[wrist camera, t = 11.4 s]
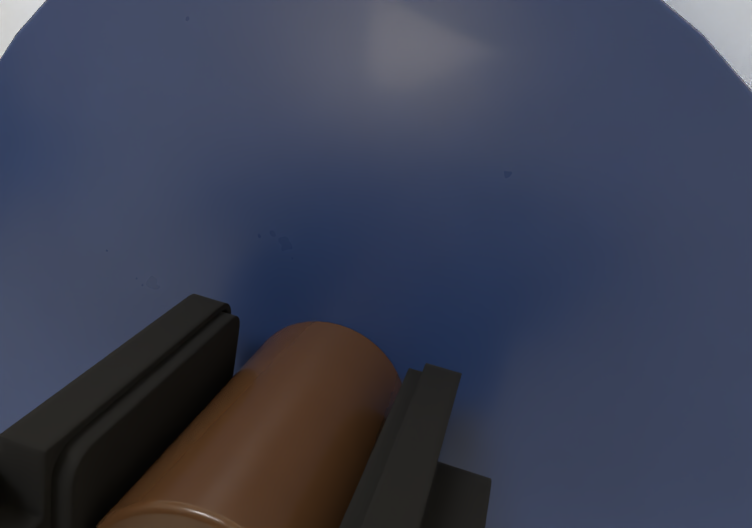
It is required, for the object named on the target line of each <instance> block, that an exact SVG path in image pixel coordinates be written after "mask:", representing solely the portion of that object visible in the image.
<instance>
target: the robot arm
mask: <svg viewBox="0 0 752 528" xmlns="http://www.w3.org/2000/svg"><path fill="white" fill-rule="evenodd" d="M239 329H240V320H239V317H238V316H235V315H232V314H231V307H230V305H229V304H228V303H224V302H221V301H217V300H214V299H211V298H207V297H204V296H201V295H197V294H191V295H189V296H188V297H186V298H185V299H184V300H182V301H181V302H180V303H178V304H177V305H176V306H174V307H173V308H171V309H170V310H169V311H167V312H166V313H165V314H163V315H162V316H161V317H159V318H158V319H156V320H155V321H154V322H152V323H151V324H150V325H148V326H147V327H146V328H144V329H143V330H141V331H140V332H139V333H137V334H136V335H135V336H133V337H132V338H131V339H129V340H128V341H126V342H125V343H124V344H122V345H121V346H120V347H118V348H117V349H115V350H114V351H113V352H111V353H110V354H109V355H107V356H106V357H105V358H103V359H102V360H100V361H99V362H98V363H96V364H95V365H94V366H92V367H91V368H90V369H88V370H87V371H85V372H84V373H83V374H81V375H80V376H79V377H77V378H76V379H75V380H73V381H72V382H70V383H69V384H68V385H66V386H65V387H64V388H62V389H61V390H60V391H58V392H57V393H55V394H54V395H53V396H51V397H50V398H49V399H47V400H46V401H44V402H43V403H42V404H40V405H39V406H38V407H36V408H35V409H34V410H32V411H31V412H29V413H28V414H27V415H25V416H24V417H23V418H21V419H20V420H19V421H17V422H16V423H14V424H13V425H12V426H10V427H9V428H8V429H6V430H5V431H4V432H2V433H1V434H0V528H95V527H96V525H97V524H98V523H99V522H100V521H101V519H102V518H103V517H104V516H105V515H106V514H107V513H108V512H109V511H110V510H111V509H112V508H113V506H114V505H115V504H116V503H117V502H118V501H119V500H120V499H121V498H122V497H123V496H124V494H125V493H126V492H127V491H128V490H129V489H130V488H131V487H132V486H133V485H134V484H135V483H136V481H137V480H138V479H139V478H140V477H141V476H142V475H143V474H144V473H145V472H146V471H147V470H148V468H149V467H150V466H151V465H152V464H153V463H154V462H155V461H156V460H157V459H158V458H159V456H160V455H161V454H162V453H163V452H164V451H165V450H166V449H167V448H168V447H169V446H170V445H171V443H172V442H173V441H174V440H175V439H176V438H177V437H178V436H179V435H180V434H181V433H182V432H183V430H184V429H185V428H186V427H187V426H188V425H189V424H190V423H191V422H192V421H193V420H194V418H195V417H196V416H197V415H198V414H199V413H200V412H201V411H202V410H203V409H204V408H205V407H206V405H207V404H208V403H209V402H210V401H211V400H212V399H213V398H214V397H215V396H216V395H217V394H218V392H219V391H220V390H221V389H222V388H223V387H224V386H225V385H226V384H227V383H228V382H229V380H230V379H231V378H232V377H233V373H234V366H235V358H236V351H237V344H238V336H239ZM461 375H462V373H459V372H455V371H452V370H449V369H445V368H442V367H439V366H435V365H432V364H429V363H426V364H425V366H424V369H423V371H422V372H421V371H418V370H414V369H411V368H409V369H408V371H407V373H406V376H405V378H404V380H403V383H402V385H401V387H400V389H399V392H398V394H397V396H396V399H395V401H394V403H393V405H392V408H391V410H390V412H389V415H388V417H387V419H386V422H385V424H384V426H383V428H382V431H381V433H380V435H379V438H378V440H377V442H376V444H375V447H374V449H373V451H372V454H371V456H370V458H369V460H368V463H367V465H366V467H365V470H364V472H363V474H362V476H361V479H360V481H359V483H358V486H357V488H356V490H355V492H354V495H353V497H352V499H351V502H350V504H349V506H348V508H347V511H346V513H345V515H344V518H343V520H342V522H341V524H340V527H339V528H485V525H486V518H487V511H488V504H489V497H490V490H491V478H488V477H485V476H482V475H479V474H476V473H472V472H469V471H466V470H463V469H460V468H457V467H454V466H451V465H448V464H445V463H441V462H438V458H439V454H440V451H441V447H442V444H443V440H444V436H445V433H446V429H447V426H448V422H449V418H450V415H451V411H452V408H453V404H454V400H455V397H456V393H457V390H458V386H459V382H460V379H461Z"/></svg>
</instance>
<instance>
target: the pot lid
mask: <svg viewBox="0 0 752 528" xmlns="http://www.w3.org/2000/svg"><path fill="white" fill-rule="evenodd" d="M191 294H197V295H201V296H204V297H207V298H211V299H214V300H217V301H221V302H224V303H228V304H229V305H230V307H231V314H232V315H235V316H238V317H239V320H240V329H239V336H238V344H237V351H236V358H235V366H234V373H233V377H232V378H231V379H230V380H229V382H228V383H227V384H226V385H225V386H224V387H223V388H222V389H221V390H220V391H219V392H218V394H217V395H216V396H215V397H214V398H213V399H212V400H211V401H210V402H209V403H208V404H207V405H206V407H205V408H204V409H203V410H202V411H201V412H200V413H199V414H198V415H197V416H196V417H195V418H194V420H193V421H192V422H191V423H190V424H189V425H188V426H187V427H186V428H185V429H184V430H183V432H182V433H181V434H180V435H179V436H178V437H177V438H176V439H175V440H174V441H173V442H172V443H171V445H170V446H169V447H168V448H167V449H166V450H165V451H164V452H163V453H162V454H161V455H160V456H159V458H158V459H157V460H156V461H155V462H154V463H153V464H152V465H151V466H150V467H149V468H148V470H147V471H146V472H145V473H144V474H143V475H142V476H141V477H140V478H139V479H138V480H137V481H136V483H135V484H134V485H133V486H132V487H131V488H130V489H129V490H128V491H127V492H126V493H125V494H124V496H123V497H122V498H121V499H120V500H119V501H118V502H117V503H116V504H115V505H114V506H113V508H112V509H111V510H110V511H109V512H108V513H107V514H106V515H105V516H104V517H103V518H102V519H101V521H100V522H99V523H98V524H97V525H96V527H95V528H339V527H340V524H341V522H342V520H343V518H344V515H345V513H346V511H347V508H348V506H349V504H350V502H351V499H352V497H353V495H354V492H355V490H356V488H357V486H358V483H359V481H360V479H361V476H362V474H363V472H364V470H365V467H366V465H367V463H368V460H369V458H370V456H371V454H372V451H373V449H374V447H375V444H376V442H377V440H378V438H379V435H380V433H381V431H382V428H383V426H384V424H385V422H386V419H387V417H388V415H389V412H390V410H391V408H392V405H393V403H394V401H395V399H396V396H397V394H398V392H399V389H400V387H401V385H402V383H403V380H404V378H405V376H406V373H407V371H408V369H409V368H411V369H414V370H418V371H421V372H422V371H423V369H424V366H425V364H426V363H429V364H432V365H435V366H439V367H442V368H445V369H449V370H452V371H455V372H459V373H462V375H461V379H460V382H459V386H458V390H457V393H456V397H455V400H454V404H453V408H452V411H451V415H450V418H449V422H448V426H447V429H446V433H445V436H444V440H443V444H442V447H441V451H440V454H439V458H438V462H441V463H445V464H448V465H451V466H454V467H457V468H460V469H463V470H466V471H469V472H472V473H476V474H479V475H482V476H485V477H488V478H491V490H490V497H489V504H488V511H487V518H486V525H485V528H752V90H751V89H750V88H749V87H748V86H747V85H746V83H745V82H744V81H743V80H742V79H741V78H740V77H739V75H738V74H737V73H736V72H735V71H734V70H733V68H732V67H731V66H730V65H729V64H728V63H727V62H726V60H725V59H724V58H723V57H722V56H721V55H720V54H719V52H718V51H717V50H716V49H715V48H714V47H713V45H712V44H711V43H710V42H709V41H708V40H707V39H706V37H705V36H704V35H703V34H702V33H700V32H699V31H698V30H697V29H696V28H694V27H693V26H692V25H691V24H690V23H689V22H687V21H686V20H685V19H684V18H683V17H681V16H680V15H679V14H678V13H677V12H676V11H674V10H673V9H672V8H671V7H670V6H669V5H667V4H666V3H665V2H664V1H663V0H46V1H45V2H44V3H43V5H42V6H41V7H40V8H39V9H38V10H37V11H36V12H35V14H34V15H33V16H32V17H31V18H30V19H29V20H28V21H27V23H26V24H25V25H24V26H23V27H22V28H21V29H20V31H19V32H18V33H17V34H16V36H15V37H14V39H13V40H12V42H11V43H10V45H9V46H8V48H7V50H6V51H5V53H4V54H3V56H2V57H1V59H0V434H1V433H2V432H4V431H5V430H6V429H8V428H9V427H10V426H12V425H13V424H14V423H16V422H17V421H19V420H20V419H21V418H23V417H24V416H25V415H27V414H28V413H29V412H31V411H32V410H34V409H35V408H36V407H38V406H39V405H40V404H42V403H43V402H44V401H46V400H47V399H49V398H50V397H51V396H53V395H54V394H55V393H57V392H58V391H60V390H61V389H62V388H64V387H65V386H66V385H68V384H69V383H70V382H72V381H73V380H75V379H76V378H77V377H79V376H80V375H81V374H83V373H84V372H85V371H87V370H88V369H90V368H91V367H92V366H94V365H95V364H96V363H98V362H99V361H100V360H102V359H103V358H105V357H106V356H107V355H109V354H110V353H111V352H113V351H114V350H115V349H117V348H118V347H120V346H121V345H122V344H124V343H125V342H126V341H128V340H129V339H131V338H132V337H133V336H135V335H136V334H137V333H139V332H140V331H141V330H143V329H144V328H146V327H147V326H148V325H150V324H151V323H152V322H154V321H155V320H156V319H158V318H159V317H161V316H162V315H163V314H165V313H166V312H167V311H169V310H170V309H171V308H173V307H174V306H176V305H177V304H178V303H180V302H181V301H182V300H184V299H185V298H186V297H188V296H189V295H191Z"/></svg>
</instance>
